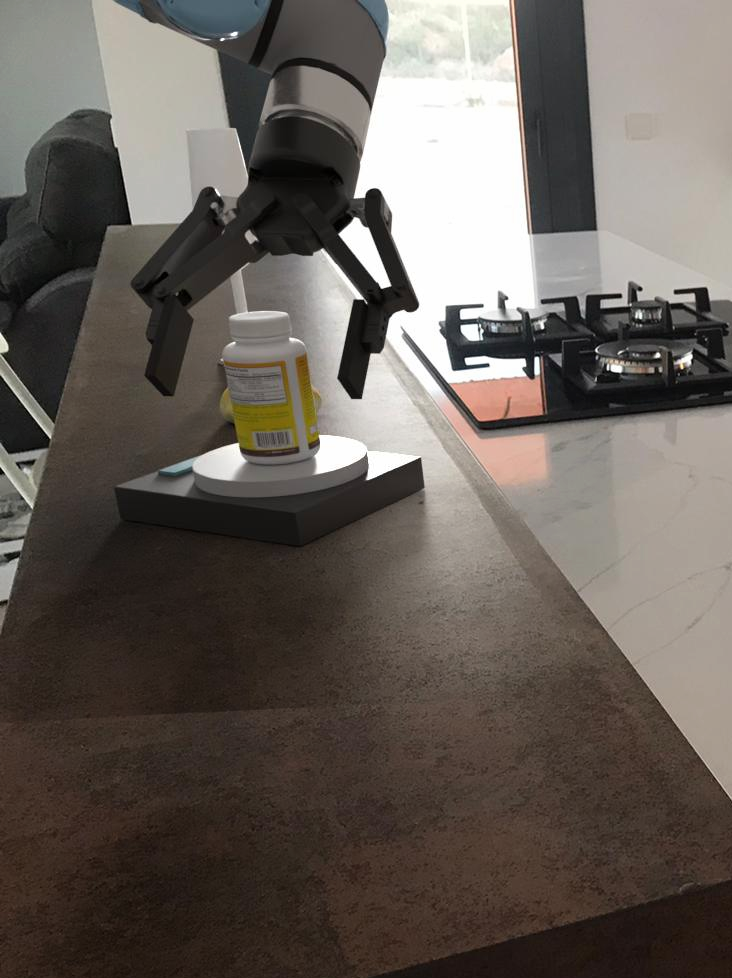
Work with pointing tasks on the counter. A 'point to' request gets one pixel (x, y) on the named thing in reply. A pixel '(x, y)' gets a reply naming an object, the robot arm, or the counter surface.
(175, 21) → the robot arm
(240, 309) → the champagne flute
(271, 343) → the supplement bottle
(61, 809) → the counter surface
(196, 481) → the scale
